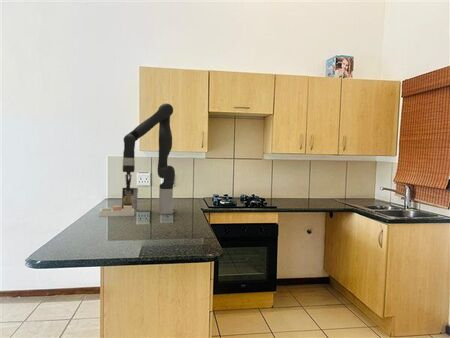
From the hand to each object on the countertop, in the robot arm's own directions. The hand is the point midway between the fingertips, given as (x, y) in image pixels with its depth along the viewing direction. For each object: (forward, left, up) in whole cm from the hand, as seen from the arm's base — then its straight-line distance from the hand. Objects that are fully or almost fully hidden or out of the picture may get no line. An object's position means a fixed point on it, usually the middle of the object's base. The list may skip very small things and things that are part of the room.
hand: (128, 190), depth 209 cm
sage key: (+9, -9, -14) cm, 19 cm away
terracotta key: (+5, -5, -13) cm, 15 cm away
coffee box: (-14, -12, -16) cm, 25 cm away
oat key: (0, 0, -13) cm, 13 cm away
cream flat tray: (+5, -5, -16) cm, 17 cm away
